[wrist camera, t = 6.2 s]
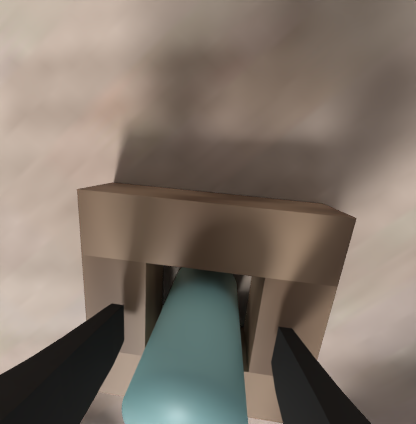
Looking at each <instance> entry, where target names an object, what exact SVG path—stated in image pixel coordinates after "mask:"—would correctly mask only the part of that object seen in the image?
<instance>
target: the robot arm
mask: <svg viewBox="0 0 416 424" xmlns="http://www.w3.org/2000/svg"><path fill="white" fill-rule="evenodd" d="M123 343H124V305H120V304H113V303H111V304H110V305H108V306H107V307H105V308H104V309H102V310H101V311H100V312H98V313H97V314H95V315H94V316H93V317H91V318H90V319H88V320H87V321H85V322H84V323H83V324H81V325H80V326H78V327H77V328H75V329H74V330H72V331H71V332H69V333H68V334H67V335H65V336H64V337H62V338H60V339H59V340H57V341H56V342H54V343H53V344H51V345H49V346H48V347H46V348H45V349H43V350H42V351H40V352H39V353H37V354H35V355H34V356H32V357H30V358H29V359H27V360H25V361H24V362H22V363H20V364H19V365H17V366H15V367H13V368H12V369H10V370H8V371H6V372H4V373H3V374H1V375H0V424H80V422H81V420H82V419H83V417H84V415H85V413H86V412H87V410H88V408H89V407H90V405H91V403H92V401H93V400H94V398H95V396H96V395H97V393H98V391H99V389H100V388H101V386H102V384H103V382H104V381H105V379H106V377H107V375H108V374H109V372H110V370H111V368H112V367H113V365H114V363H115V360H116V358H117V356H118V354H119V352H120V349H121V347H122V345H123ZM271 366H272V373H273V380H274V387H275V392H276V396H277V401H278V405H279V409H280V413H281V417H282V421H283V424H371V423H370V422H369V421H368V420H367V419H366V417H365V416H364V415H363V414H362V413H361V412H360V411H359V410H358V409H357V408H356V406H355V405H354V404H353V403H352V402H351V401H350V400H349V398H348V397H347V396H346V395H345V394H344V393H343V392H342V390H341V389H340V388H339V387H338V386H337V384H336V383H335V382H334V381H333V380H332V378H331V377H330V376H329V375H328V374H327V372H326V371H325V370H324V369H323V367H322V366H321V365H320V364H319V362H318V361H317V360H316V359H315V357H314V356H313V355H312V353H311V352H310V351H309V350H308V348H307V347H306V346H305V344H304V343H303V342H302V340H301V339H300V338H299V336H298V335H297V334H296V333H295V331H294V330H293V329H292V328H286V327H278V331H277V336H276V341H275V346H274V350H273V355H272V360H271Z"/></svg>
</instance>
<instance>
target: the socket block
mask: <svg viewBox="0 0 416 424" xmlns="http://www.w3.org/2000/svg"><path fill="white" fill-rule="evenodd" d="M77 195H78V209H79V223H80V237H81V252H82V266H83V280H84V294H85V308H86V321H87V320H88V319H90V318H91V317H93V316H94V315H95V314H97V313H98V312H100V311H101V310H102V309H104V308H105V307H107V306H108V305H110V304H111V303H113V304H120V305H124V343H123V345H122V347H121V349H120V352H119V354H118V356H117V358H116V360H115V363H114V365H113V367H112V368H111V370H110V372H109V374H108V375H107V377H106V379H105V381H104V382H103V384H102V386H101V388H100V389H99V391H98V392H100V393H106V394H112V395H118V396H125V394H126V391H127V389H128V387H129V384H130V382H131V380H132V377H133V375H134V373H135V370H136V368H137V366H138V364H139V361H140V359H141V357H142V354H143V352H144V350H145V347H146V345H147V343H148V340H149V338H150V336H151V334H152V331H153V329H154V327H155V324H156V322H157V320H158V317H159V315H160V313H161V310H162V294H163V267H164V265H167V266H175V267H183V268H191V269H199V270H207V271H215V272H223V273H231V274H239V275H248V276H252V278H251V285H250V291H249V297H248V304H247V310H246V316H245V323H244V327H240V334H241V345H242V357H243V369H244V381H245V392H246V404H247V416H248V417H249V418H255V419H261V420H267V421H273V422H279V423H283V421H282V417H281V413H280V409H279V405H278V401H277V396H276V392H275V387H274V380H273V373H272V366H271V360H272V355H273V350H274V346H275V341H276V336H277V331H278V327H286V328H292V329H293V330H294V331H295V333H296V334H297V335H298V336H299V338H300V339H301V340H302V342H303V343H304V344H305V346H306V347H307V348H308V350H309V351H310V352H311V353H312V355H313V356H314V357H315V359H316V360H317V358H318V355H319V351H320V348H321V344H322V340H323V337H324V333H325V330H326V326H327V322H328V319H329V315H330V312H331V308H332V304H333V301H334V297H335V294H336V290H337V287H338V283H339V279H340V276H341V272H342V269H343V265H344V261H345V258H346V254H347V251H348V247H349V243H350V240H351V236H352V233H353V229H354V225H355V222H356V218H355V217H352V216H350V215H348V214H346V213H343V212H341V211H339V210H336V209H334V208H332V207H329V206H327V205H325V204H321V203H311V202H301V201H291V200H281V199H271V198H261V197H251V196H242V195H232V194H222V193H212V192H202V191H192V190H182V189H172V188H162V187H152V186H142V185H132V184H122V183H108V184H103V185H97V186H92V187H86V188H81V189H77Z"/></svg>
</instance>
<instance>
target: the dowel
mask: <svg viewBox="0 0 416 424" xmlns="http://www.w3.org/2000/svg"><path fill="white" fill-rule="evenodd" d="M122 416H123V420H124V423H125V424H248V416H247V404H246V392H245V381H244V369H243V357H242V345H241V334H240V322H239V310H238V298H237V286H236V281H235V278H234V276H233V274H231V273H223V272H215V271H207V270H199V269H191V268H183V267H182V268H181V269H180V270H179V272H178V274H177V276H176V278H175V280H174V283H173V285H172V287H171V290H170V292H169V294H168V297H167V299H166V301H165V304H164V306H163V308H162V310H161V313H160V315H159V317H158V320H157V322H156V324H155V327H154V329H153V331H152V334H151V336H150V338H149V340H148V343H147V345H146V347H145V350H144V352H143V354H142V357H141V359H140V361H139V364H138V366H137V368H136V370H135V373H134V375H133V377H132V380H131V382H130V384H129V387H128V389H127V391H126V394H125V396H124V399H123V403H122Z"/></svg>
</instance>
